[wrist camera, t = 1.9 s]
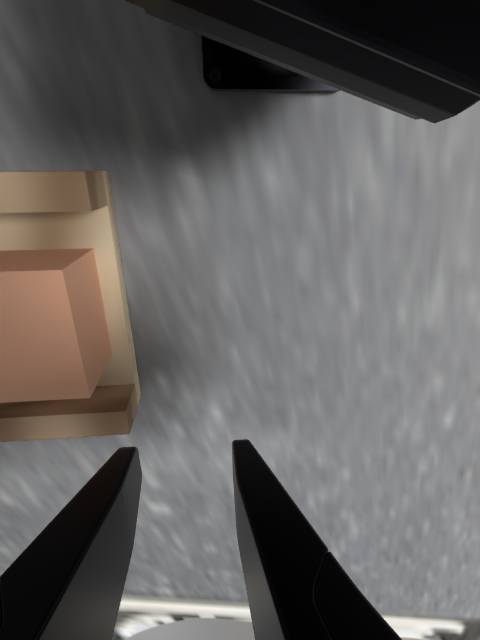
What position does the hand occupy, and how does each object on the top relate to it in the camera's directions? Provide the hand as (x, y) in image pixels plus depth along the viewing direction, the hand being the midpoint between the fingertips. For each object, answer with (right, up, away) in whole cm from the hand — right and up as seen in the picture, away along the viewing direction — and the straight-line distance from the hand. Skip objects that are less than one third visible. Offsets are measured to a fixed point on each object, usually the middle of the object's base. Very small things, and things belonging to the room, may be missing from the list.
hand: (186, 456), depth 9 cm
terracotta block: (-8, +4, +10) cm, 13 cm away
